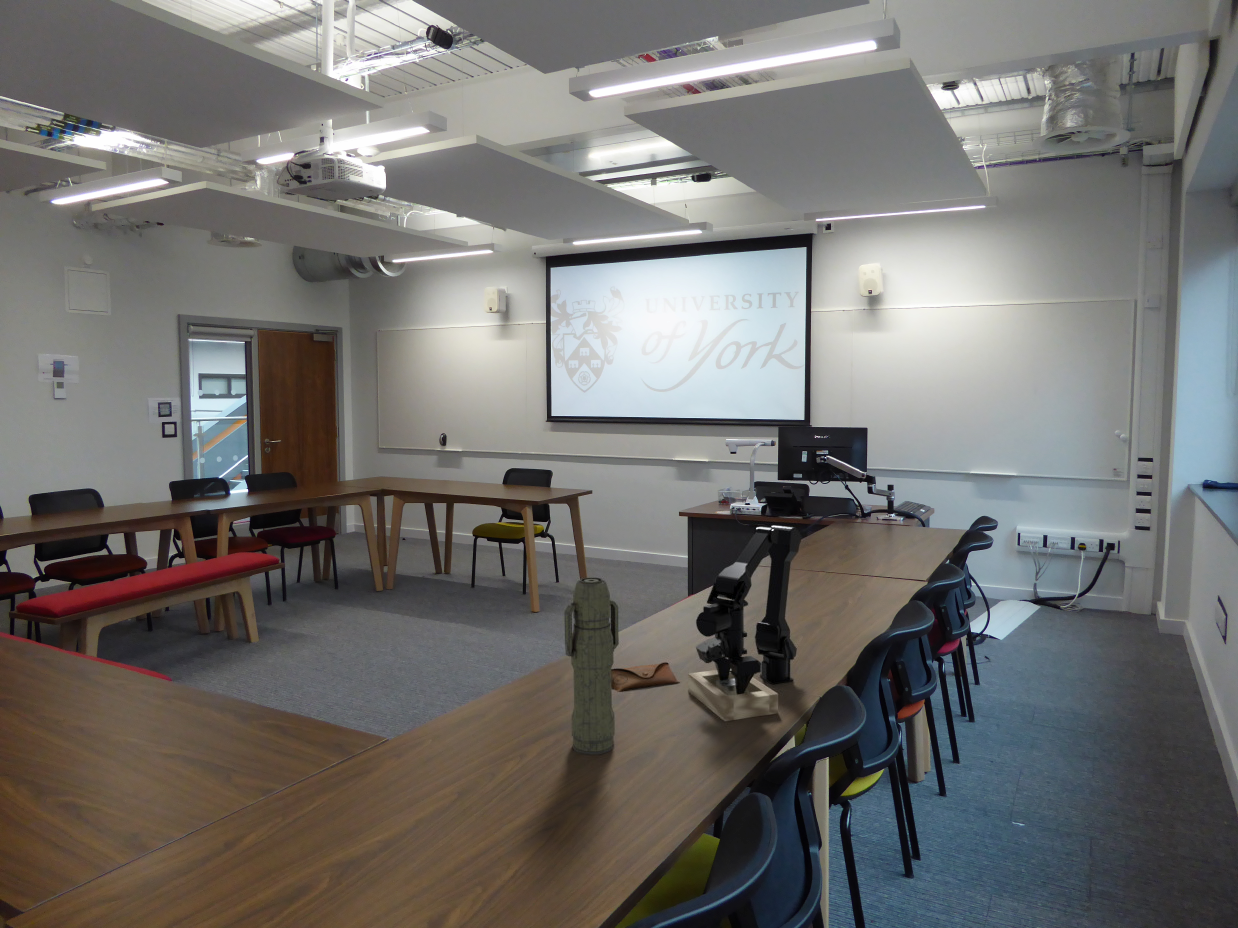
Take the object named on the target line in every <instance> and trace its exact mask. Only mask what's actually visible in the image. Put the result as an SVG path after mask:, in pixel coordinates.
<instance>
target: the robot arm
mask: <svg viewBox="0 0 1238 928" xmlns="http://www.w3.org/2000/svg"><path fill="white" fill-rule="evenodd" d="M801 543H802V533H800V532H799V529H798V528H796V527H795V526H784V525H771V526H770V527H769V526H757V527H756V528H755V529H754V533H753V536H752V537H751V539H750V540H749V541H748V543H747V545H746V546H745V547H744V549H743V551H742V552H740V554H739V556H738V558H737V560H735V562H734V563H733V564H731V565H730V566H726V567H725V568H723V570H722V571H721V572H720V573H719V574H718V575H717V576H716V578H715V580H714V582H713V584H712V587H711V590H710V593H709V595H708V598H707V600H706V604H708V605H704V606H703V608H702V609H703V611H701V612H700V613H699V614H698V616H697V618H696V620H695V623H696V628H697V630H698V632H699V633H700V634H701V635H702V636H704V637H706V638H709V639H707V640H705V641H702V642H701V643H699V644H697V645H696V646H695V648H696V649H695V650H696V652H697V655H698V657H699V660H700V661H703V662H704V663H705V664H711V663H714V665H715V668H716V670H717V672H718V675H719V679H720V680H727V679H728V678H729V673H731V674H732V675H733V676H734V677H735V685H736V693H737V694H744V692H745V690H746V688H747V686H748V684H749V682H750V681H751V679H752V677H753V678H754V676H755V675H756V674H758V673H760V674H759V677H760V678H761V679H763V680H764V681H766V682H768V683H770V684H771V685H776V684H783V683H790V682H794V680H795V679H794V678H793V677H791V661H793V660H795V658H796V655H797V649H798V648H797V647H796V645H795V644H794V642H793V641H792V639H791V629H790V626H789V625H788V622H787V620H786V611H787V604H788V603H787V601H788V592H789V581H790V574H791V573H790V572H791V562H792V561H793V560H794V558H795V557H796V556H797V554H798V553H799V550H800V546H801V545H800V544H801ZM767 553H768V555H769V558H770V569H769V576H768V577H769V579H768V587H767V588H768V589H767V597H766V608H765V616H764V617H763V618H762V619H761V621H758V622H757V623H756V627H755V629H756V631H755V635H754V643H755V646H756V651H757V654H758V655H761V656H762V660H761V661H759V660H758V659H757V658H755V657H754V656H752V655H748V650H747V649H746V648H744V647H745V646H744V645H745V644H744V642H745V640H744V639H745V638H747V637H748V633H747V631H744V630H745V629H744V627H745V621H744V619H745V615H744V614H745V613H744V611H745V610H744V608H745V607H747V606H749V603H748V601H747V600H745V599H746V597H747V596H748V594H749V592H750V590H751V587H752V576H753V575H754V573H755V571H756V570H757V569H758V567H759V565H760V564H761V563H762V561H763V559H764V558H765V556H766V555H767ZM712 636H714V637H712ZM710 637H712V638H710ZM744 655H746V656H744ZM730 669H731V670H730Z"/></svg>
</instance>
